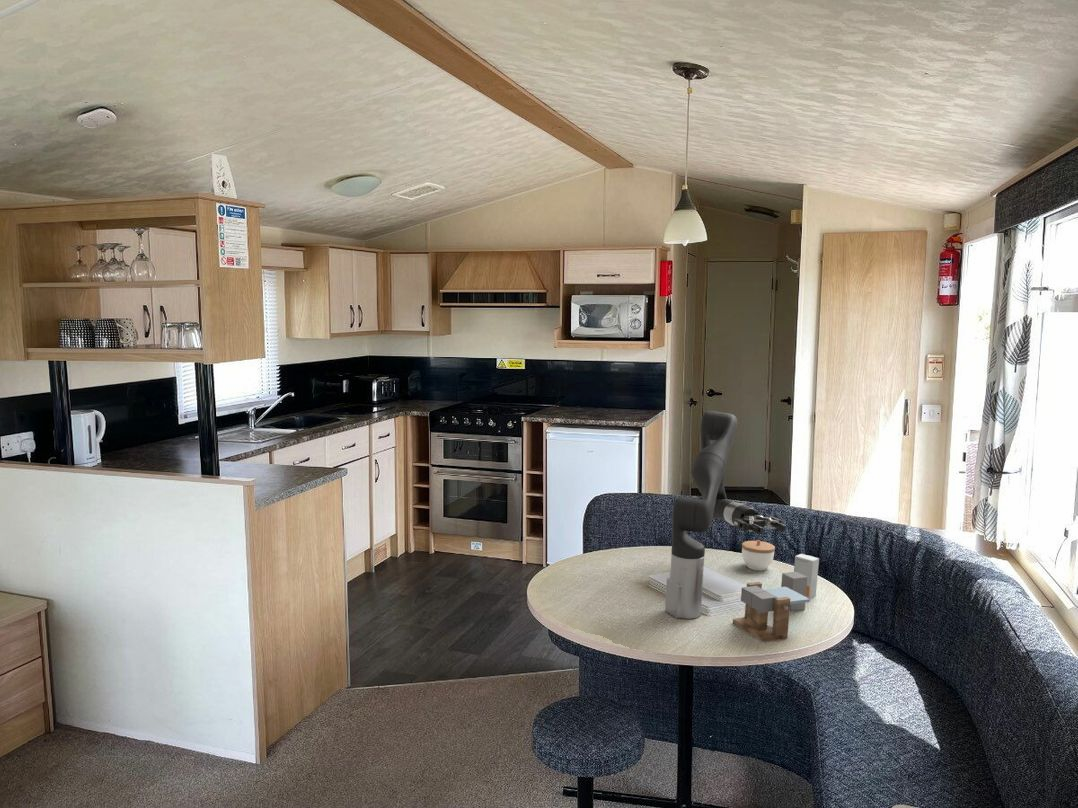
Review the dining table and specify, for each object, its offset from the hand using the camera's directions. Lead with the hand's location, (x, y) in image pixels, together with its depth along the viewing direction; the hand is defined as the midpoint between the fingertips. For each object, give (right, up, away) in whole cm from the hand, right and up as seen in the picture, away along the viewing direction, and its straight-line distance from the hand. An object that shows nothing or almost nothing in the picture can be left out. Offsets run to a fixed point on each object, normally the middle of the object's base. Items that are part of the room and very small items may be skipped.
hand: (773, 529), depth 247 cm
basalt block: (+3, -22, -8) cm, 23 cm away
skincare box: (+11, -21, +4) cm, 24 cm away
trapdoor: (-7, -16, -25) cm, 30 cm away
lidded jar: (+3, -17, +28) cm, 33 cm away
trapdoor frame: (-11, -23, -25) cm, 36 cm away
